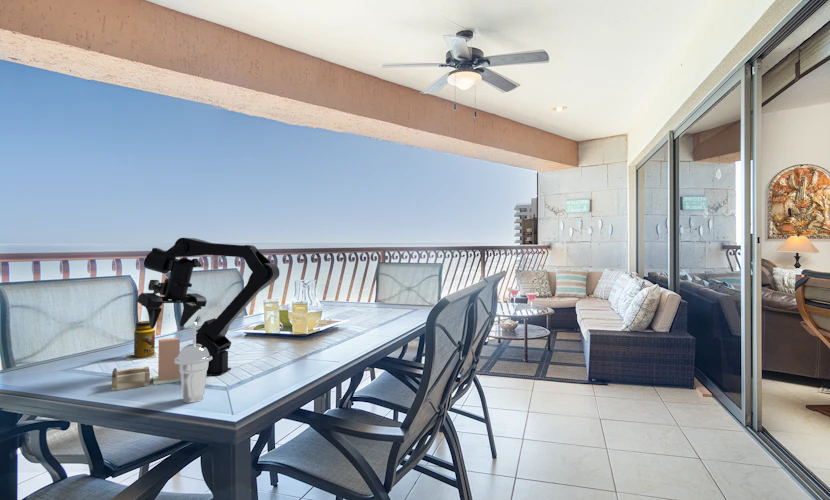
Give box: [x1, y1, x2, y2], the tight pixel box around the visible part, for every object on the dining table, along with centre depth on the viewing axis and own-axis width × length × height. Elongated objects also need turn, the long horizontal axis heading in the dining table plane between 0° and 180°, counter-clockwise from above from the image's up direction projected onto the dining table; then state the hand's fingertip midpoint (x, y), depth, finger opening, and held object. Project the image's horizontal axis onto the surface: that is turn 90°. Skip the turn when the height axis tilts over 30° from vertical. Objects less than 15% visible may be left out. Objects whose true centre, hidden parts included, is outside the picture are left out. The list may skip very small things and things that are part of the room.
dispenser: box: [111, 366, 151, 392], centre depth 115 cm, size 8×7×4 cm
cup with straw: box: [174, 315, 213, 404], centre depth 105 cm, size 8×9×20 cm
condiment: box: [125, 320, 157, 361], centre depth 145 cm, size 7×8×12 cm
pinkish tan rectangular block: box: [157, 337, 181, 381], centre depth 120 cm, size 5×3×11 cm, turn 125°
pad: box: [152, 373, 181, 386], centre depth 120 cm, size 8×8×1 cm
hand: (167, 327), depth 128 cm, fingers open, 9 cm apart
